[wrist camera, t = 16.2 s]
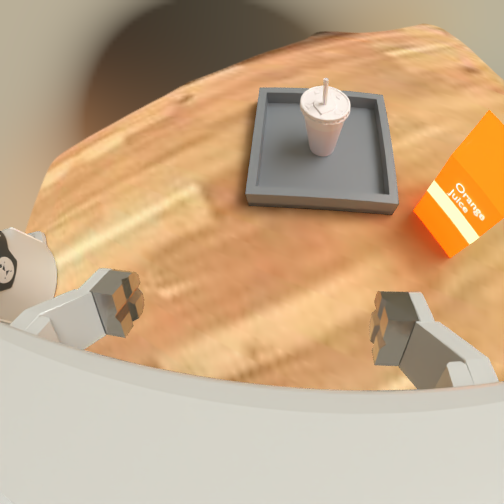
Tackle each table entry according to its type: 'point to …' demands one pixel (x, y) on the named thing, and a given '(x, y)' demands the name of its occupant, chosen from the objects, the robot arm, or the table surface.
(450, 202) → the orange juice
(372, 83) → the table surface
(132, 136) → the table surface
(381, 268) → the table surface
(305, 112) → the smoothie
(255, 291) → the table surface
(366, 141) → the tray
